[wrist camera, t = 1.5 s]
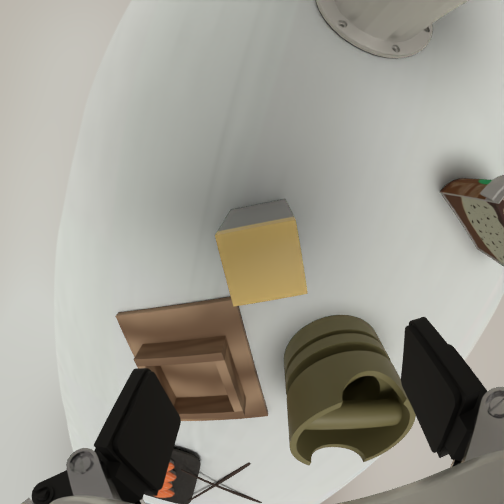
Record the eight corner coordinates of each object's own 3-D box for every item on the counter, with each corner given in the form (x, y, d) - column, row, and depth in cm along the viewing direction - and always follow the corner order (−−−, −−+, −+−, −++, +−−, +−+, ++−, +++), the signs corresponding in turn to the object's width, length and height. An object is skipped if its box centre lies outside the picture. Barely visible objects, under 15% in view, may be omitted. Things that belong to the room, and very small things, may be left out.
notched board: (118, 312, 31) (104, 329, 27) (235, 295, 29) (231, 314, 26) (171, 416, 36) (165, 436, 32) (267, 411, 35) (267, 433, 31)
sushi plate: (121, 424, 39) (113, 440, 35) (294, 461, 40) (295, 479, 36) (132, 483, 48) (128, 495, 44) (253, 510, 49) (253, 522, 45)
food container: (506, 220, 25) (561, 244, 16) (481, 256, 27) (534, 290, 17) (461, 142, 23) (526, 145, 13) (431, 181, 25) (495, 198, 15)
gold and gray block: (230, 209, 26) (215, 235, 18) (285, 198, 26) (295, 219, 17) (242, 260, 28) (233, 306, 19) (294, 250, 27) (307, 293, 19)
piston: (384, 462, 22) (278, 468, 22) (360, 390, 33) (276, 387, 33) (436, 389, 18) (308, 394, 18) (390, 318, 30) (294, 310, 30)
